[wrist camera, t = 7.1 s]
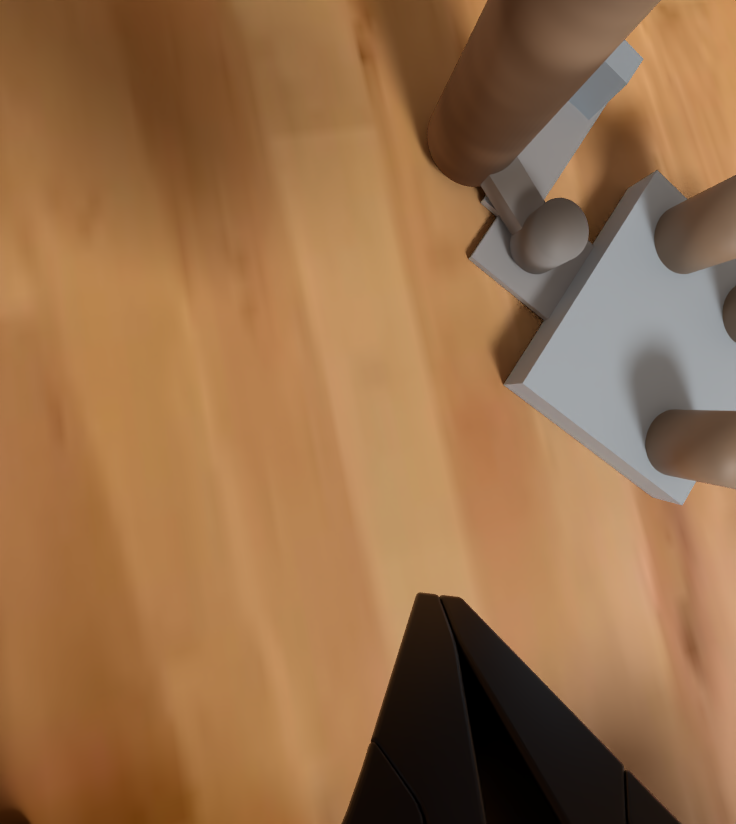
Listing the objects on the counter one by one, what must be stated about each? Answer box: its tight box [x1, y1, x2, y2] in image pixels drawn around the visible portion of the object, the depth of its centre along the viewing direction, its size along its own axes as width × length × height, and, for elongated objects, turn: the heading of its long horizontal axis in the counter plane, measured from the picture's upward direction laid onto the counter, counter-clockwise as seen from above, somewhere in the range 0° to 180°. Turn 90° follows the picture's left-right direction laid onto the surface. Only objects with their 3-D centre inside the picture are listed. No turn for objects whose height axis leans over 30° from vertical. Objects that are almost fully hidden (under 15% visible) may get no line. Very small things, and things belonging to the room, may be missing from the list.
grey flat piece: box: [469, 40, 736, 505], centre depth 17 cm, size 15×17×5 cm
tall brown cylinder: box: [427, 0, 661, 274], centre depth 11 cm, size 9×4×13 cm, turn 36°
